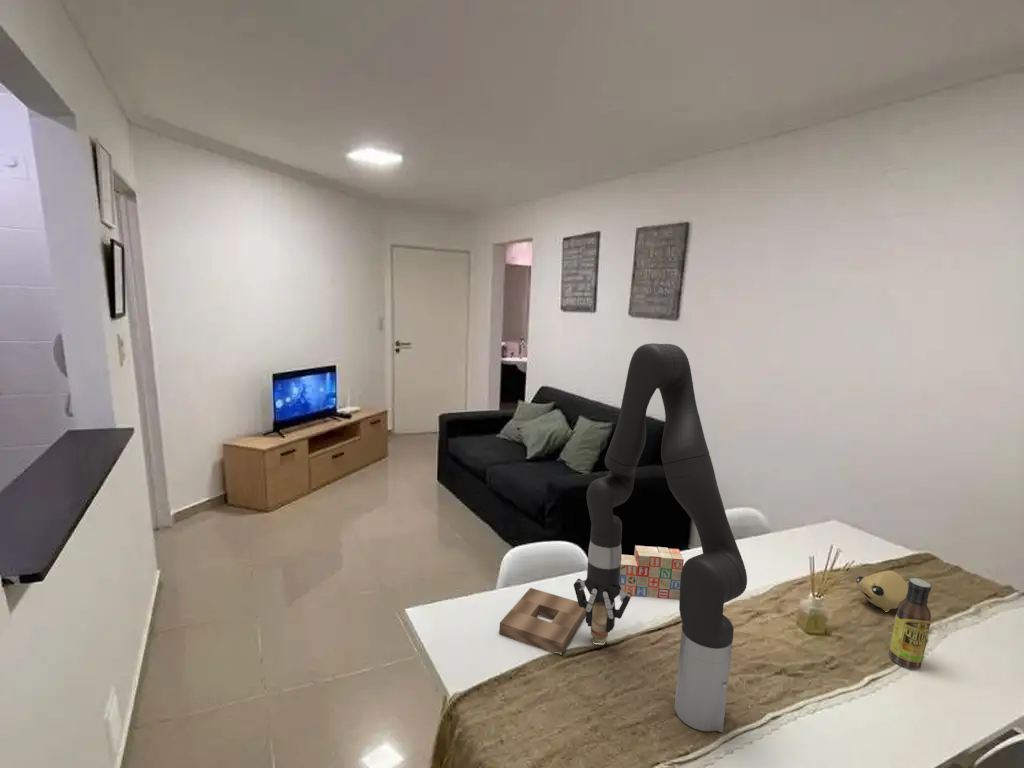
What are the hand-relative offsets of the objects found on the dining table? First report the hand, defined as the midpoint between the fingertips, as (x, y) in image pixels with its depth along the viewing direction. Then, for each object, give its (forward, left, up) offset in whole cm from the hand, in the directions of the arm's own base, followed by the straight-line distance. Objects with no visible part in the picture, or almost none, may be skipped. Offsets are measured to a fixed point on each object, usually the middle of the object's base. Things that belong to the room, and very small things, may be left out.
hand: (599, 627), depth 123 cm
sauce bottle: (-65, -28, -4) cm, 71 cm away
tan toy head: (-64, -53, -4) cm, 83 cm away
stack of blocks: (-3, -28, -4) cm, 28 cm away
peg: (0, 0, -4) cm, 4 cm away
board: (+14, 0, -4) cm, 14 cm away
